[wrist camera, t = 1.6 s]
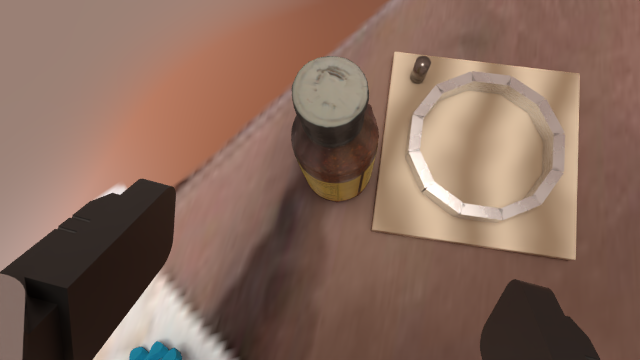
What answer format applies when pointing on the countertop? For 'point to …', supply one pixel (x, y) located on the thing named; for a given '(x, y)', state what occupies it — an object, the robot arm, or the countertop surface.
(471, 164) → the maple board
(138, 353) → the teal virus model
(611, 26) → the countertop surface
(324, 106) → the sauce bottle
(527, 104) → the white segmented ring
